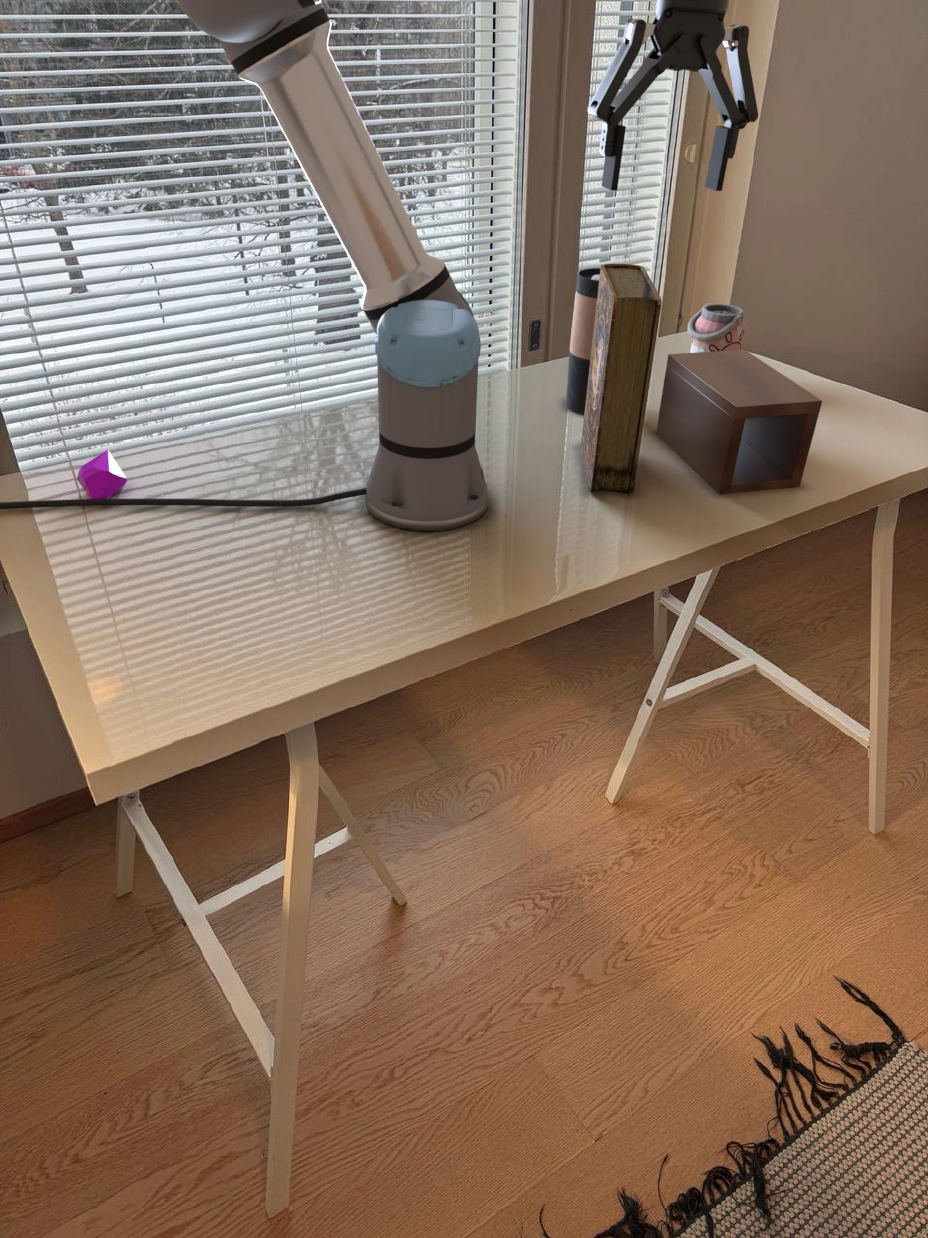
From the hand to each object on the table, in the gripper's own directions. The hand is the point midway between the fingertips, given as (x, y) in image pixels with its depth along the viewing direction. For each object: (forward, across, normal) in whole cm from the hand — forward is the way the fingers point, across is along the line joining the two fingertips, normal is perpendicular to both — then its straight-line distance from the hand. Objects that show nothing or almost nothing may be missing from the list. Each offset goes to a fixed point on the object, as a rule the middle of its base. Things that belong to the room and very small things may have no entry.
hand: (662, 188), depth 108 cm
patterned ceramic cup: (+35, +29, +26) cm, 52 cm away
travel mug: (+35, +4, +20) cm, 41 cm away
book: (+35, -3, -2) cm, 35 cm away
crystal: (+37, -67, +6) cm, 77 cm away
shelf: (+34, +15, -2) cm, 38 cm away
